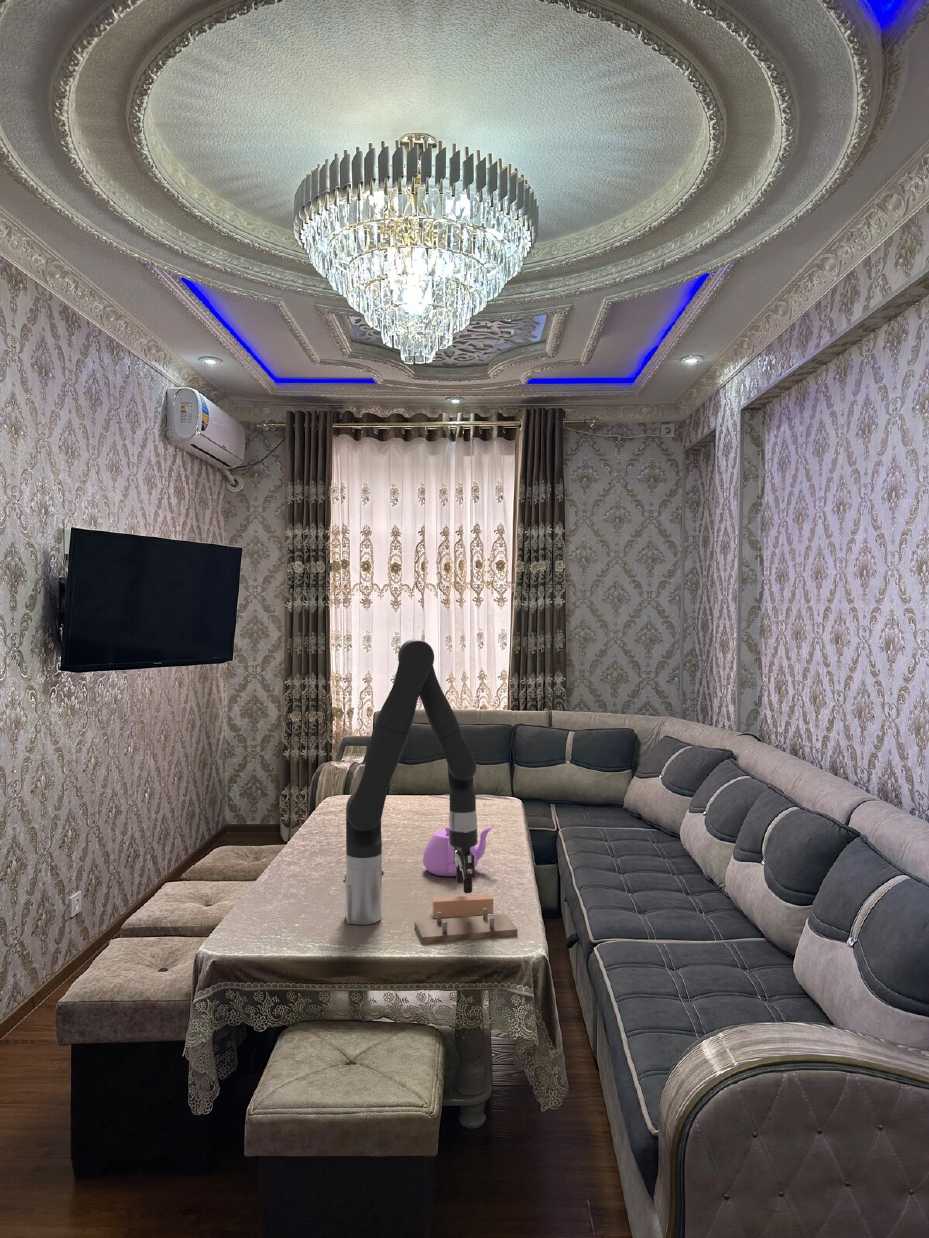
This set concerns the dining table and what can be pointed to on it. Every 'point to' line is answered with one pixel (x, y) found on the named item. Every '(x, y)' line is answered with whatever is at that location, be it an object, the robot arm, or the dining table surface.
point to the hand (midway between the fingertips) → (464, 887)
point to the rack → (465, 928)
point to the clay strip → (462, 905)
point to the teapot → (448, 853)
